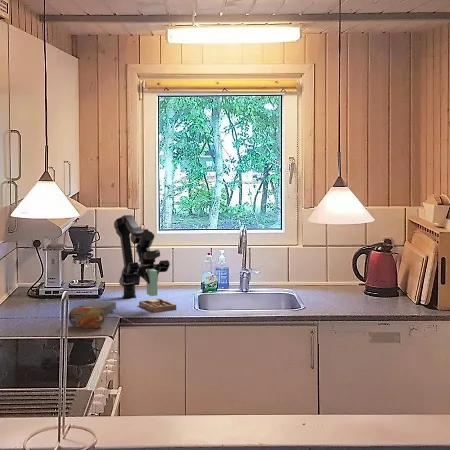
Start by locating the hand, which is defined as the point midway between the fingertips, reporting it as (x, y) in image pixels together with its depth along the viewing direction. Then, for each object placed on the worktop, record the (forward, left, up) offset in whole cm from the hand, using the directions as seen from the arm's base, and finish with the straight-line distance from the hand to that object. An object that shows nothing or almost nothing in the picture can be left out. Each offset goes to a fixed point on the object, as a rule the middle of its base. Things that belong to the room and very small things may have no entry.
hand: (152, 282), depth 322 cm
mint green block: (-1, 0, -6) cm, 6 cm away
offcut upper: (-9, +1, -11) cm, 14 cm away
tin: (+22, -27, -14) cm, 38 cm away
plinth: (-3, -24, -13) cm, 28 cm away
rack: (-6, +2, -13) cm, 15 cm away
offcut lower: (-9, +1, -12) cm, 15 cm away
